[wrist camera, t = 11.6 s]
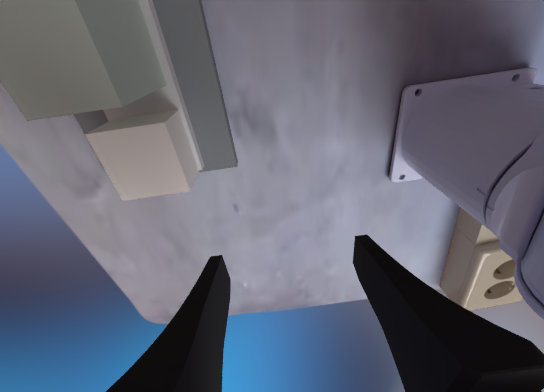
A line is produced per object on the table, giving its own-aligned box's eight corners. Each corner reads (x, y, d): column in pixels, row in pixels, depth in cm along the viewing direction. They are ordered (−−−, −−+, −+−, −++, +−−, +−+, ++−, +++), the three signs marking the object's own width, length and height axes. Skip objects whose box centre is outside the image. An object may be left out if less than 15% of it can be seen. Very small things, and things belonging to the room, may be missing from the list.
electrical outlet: (604, 167, 18) (522, 302, 28) (548, 147, 22) (493, 274, 31) (506, 188, 19) (459, 314, 28) (467, 166, 22) (437, 285, 32)
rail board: (149, -226, 10) (79, -406, 6) (237, 161, 20) (233, 191, 16) (-80, -186, 10) (-296, -336, 6) (120, 178, 20) (86, 213, 16)
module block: (131, -22, 12) (44, -68, 7) (167, 85, 15) (122, 106, 10) (54, -10, 12) (-87, -47, 7) (103, 94, 15) (27, 120, 10)
